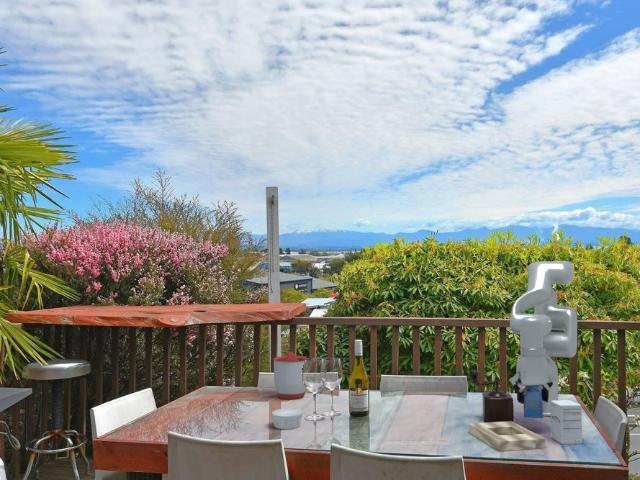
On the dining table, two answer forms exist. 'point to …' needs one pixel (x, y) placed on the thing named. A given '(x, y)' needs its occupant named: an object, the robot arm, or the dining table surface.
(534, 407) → the perfume bottle
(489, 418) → the coffee grinder
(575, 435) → the supplement box
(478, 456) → the dining table surface
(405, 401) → the dining table surface
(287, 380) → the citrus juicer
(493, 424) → the hole board
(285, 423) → the ramekin
